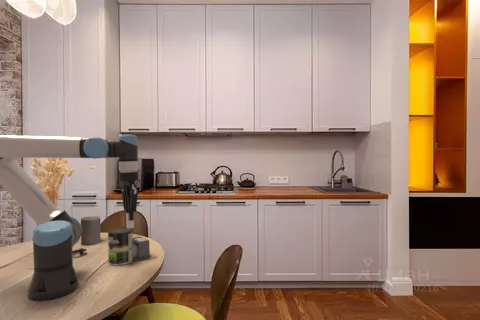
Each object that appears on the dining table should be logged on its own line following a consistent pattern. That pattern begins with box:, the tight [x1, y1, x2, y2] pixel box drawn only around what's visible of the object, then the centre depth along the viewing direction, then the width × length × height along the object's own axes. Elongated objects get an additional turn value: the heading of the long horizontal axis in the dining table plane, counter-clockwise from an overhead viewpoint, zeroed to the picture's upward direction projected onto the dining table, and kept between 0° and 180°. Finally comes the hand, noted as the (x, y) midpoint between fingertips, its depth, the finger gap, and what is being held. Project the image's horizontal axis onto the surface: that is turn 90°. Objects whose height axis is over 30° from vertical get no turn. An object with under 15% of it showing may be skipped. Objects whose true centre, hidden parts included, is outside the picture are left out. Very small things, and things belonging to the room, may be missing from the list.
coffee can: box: [107, 227, 134, 266], centre depth 134 cm, size 10×10×14 cm
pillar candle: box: [80, 215, 101, 246], centre depth 164 cm, size 10×10×15 cm
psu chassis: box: [132, 233, 151, 261], centre depth 142 cm, size 6×15×8 cm, turn 42°
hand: (130, 227), depth 126 cm, fingers closed
